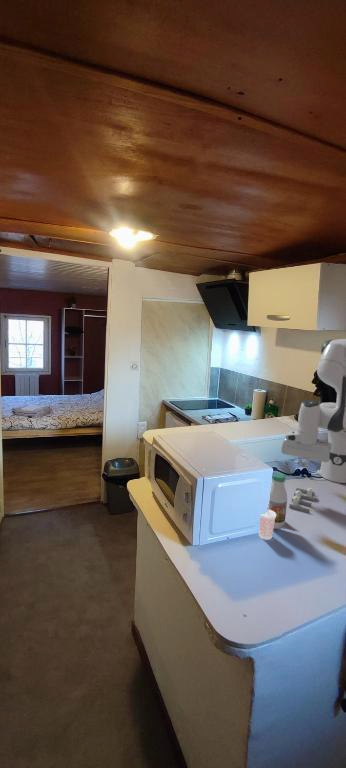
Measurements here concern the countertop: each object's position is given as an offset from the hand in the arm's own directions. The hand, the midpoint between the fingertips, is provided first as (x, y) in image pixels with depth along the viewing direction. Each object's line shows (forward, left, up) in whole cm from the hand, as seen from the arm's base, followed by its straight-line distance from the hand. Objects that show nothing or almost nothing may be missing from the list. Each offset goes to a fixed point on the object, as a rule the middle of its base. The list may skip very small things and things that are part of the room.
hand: (303, 466), depth 162 cm
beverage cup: (+40, -6, -15) cm, 43 cm away
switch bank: (+6, +2, -14) cm, 16 cm away
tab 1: (+6, 0, -13) cm, 15 cm away
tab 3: (0, +4, -13) cm, 14 cm away
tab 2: (+12, 0, -13) cm, 18 cm away
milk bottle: (+30, -5, -15) cm, 34 cm away
